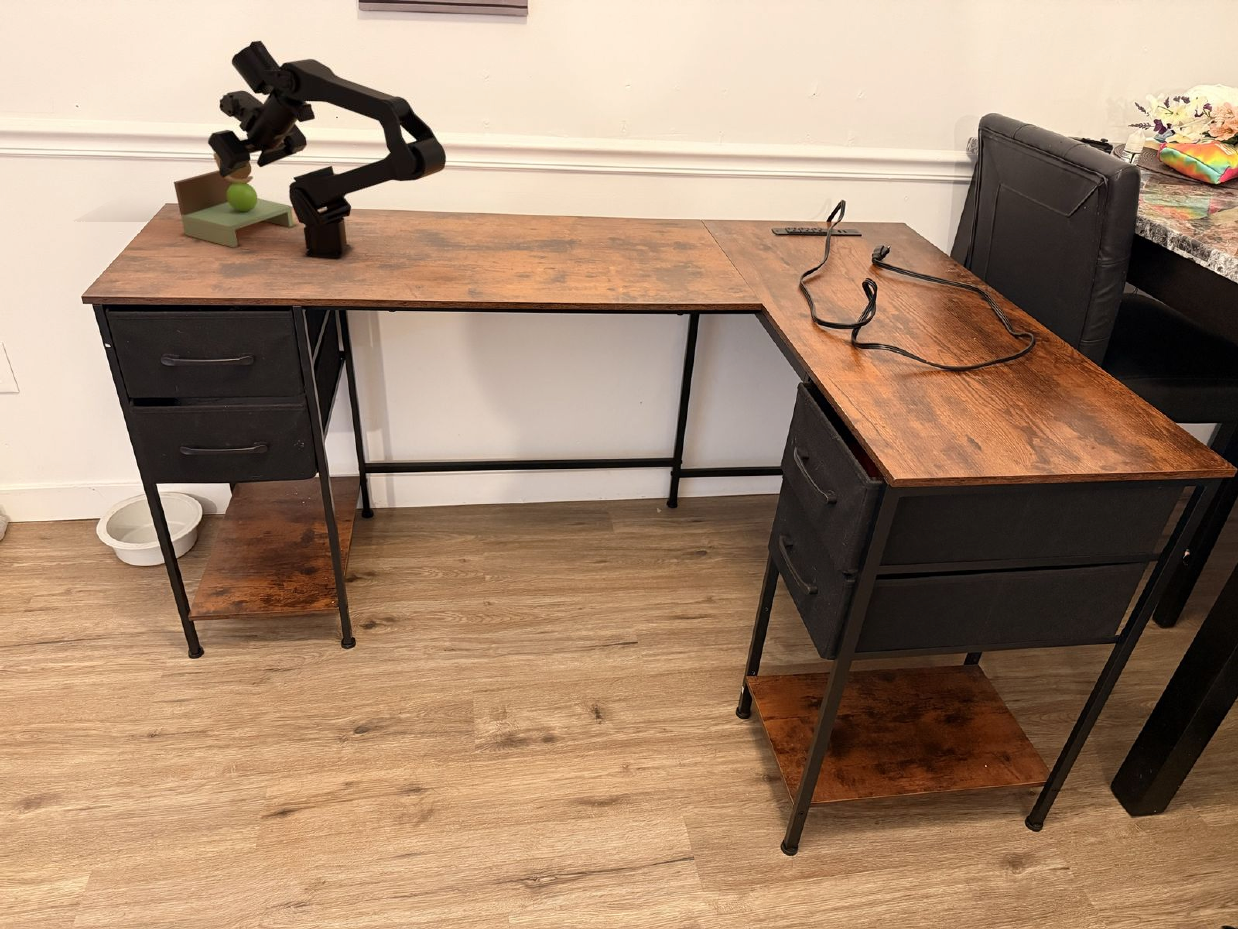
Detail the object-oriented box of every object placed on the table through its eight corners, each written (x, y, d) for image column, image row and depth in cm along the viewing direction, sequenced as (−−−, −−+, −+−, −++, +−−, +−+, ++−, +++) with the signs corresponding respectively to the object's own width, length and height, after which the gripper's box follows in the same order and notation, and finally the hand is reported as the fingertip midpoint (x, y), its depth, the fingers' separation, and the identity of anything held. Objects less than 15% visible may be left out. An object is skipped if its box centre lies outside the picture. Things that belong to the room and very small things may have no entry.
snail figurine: (224, 207, 165) (212, 142, 159) (259, 206, 167) (249, 142, 161) (223, 215, 161) (210, 150, 155) (259, 214, 163) (248, 149, 157)
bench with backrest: (293, 225, 171) (286, 174, 166) (233, 247, 159) (223, 193, 153) (247, 214, 175) (239, 164, 170) (185, 235, 163) (173, 181, 157)
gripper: (285, 70, 156) (249, 125, 165) (204, 83, 141) (170, 142, 151) (325, 122, 158) (287, 173, 167) (249, 140, 143) (212, 195, 153)
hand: (240, 169), depth 159 cm, fingers open, 9 cm apart
